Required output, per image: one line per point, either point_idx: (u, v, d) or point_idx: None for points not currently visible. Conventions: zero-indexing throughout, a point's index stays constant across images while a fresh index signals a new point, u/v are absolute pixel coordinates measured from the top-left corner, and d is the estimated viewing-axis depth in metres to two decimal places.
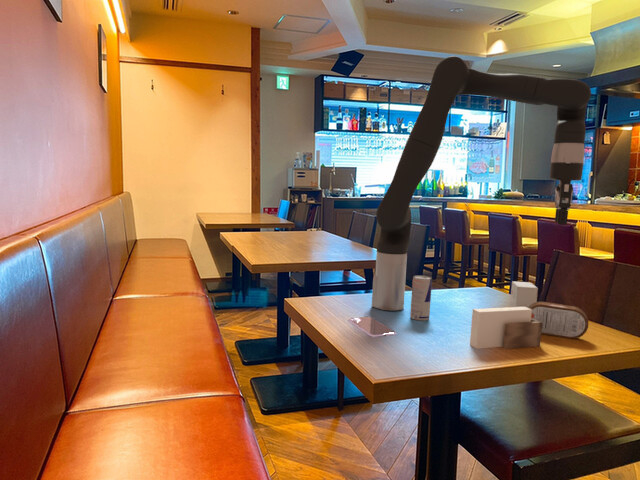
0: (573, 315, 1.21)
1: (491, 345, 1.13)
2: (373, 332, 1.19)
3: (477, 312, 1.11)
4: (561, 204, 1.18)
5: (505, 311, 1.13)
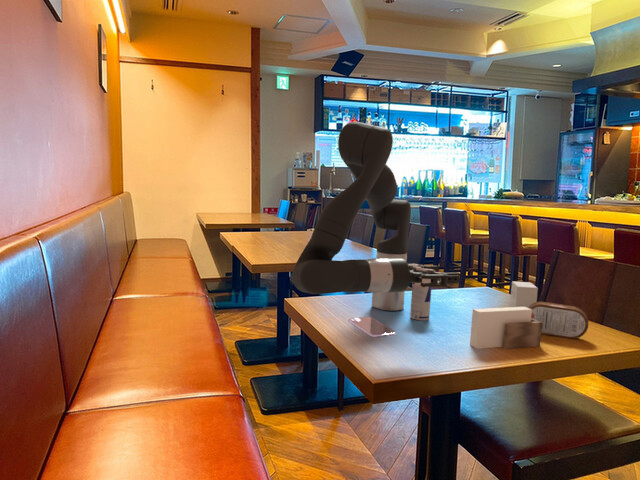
0: (573, 315, 1.21)
1: (491, 345, 1.13)
2: (373, 332, 1.19)
3: (477, 312, 1.11)
4: None
5: (505, 311, 1.13)
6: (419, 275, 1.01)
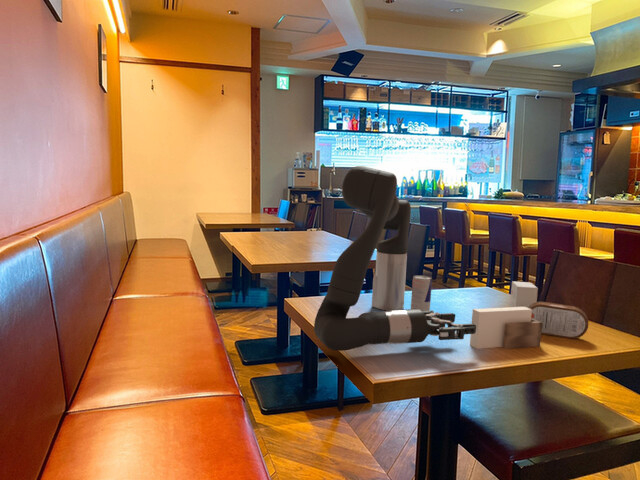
0: (573, 315, 1.21)
1: (491, 345, 1.13)
2: None
3: (477, 312, 1.11)
4: None
5: (505, 311, 1.13)
6: (437, 327, 1.04)
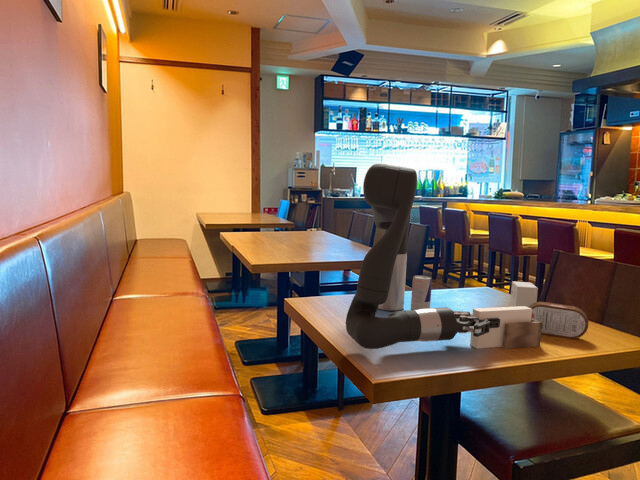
0: (573, 315, 1.21)
1: (491, 345, 1.13)
2: None
3: (477, 312, 1.11)
4: None
5: (505, 310, 1.13)
6: (468, 325, 1.07)
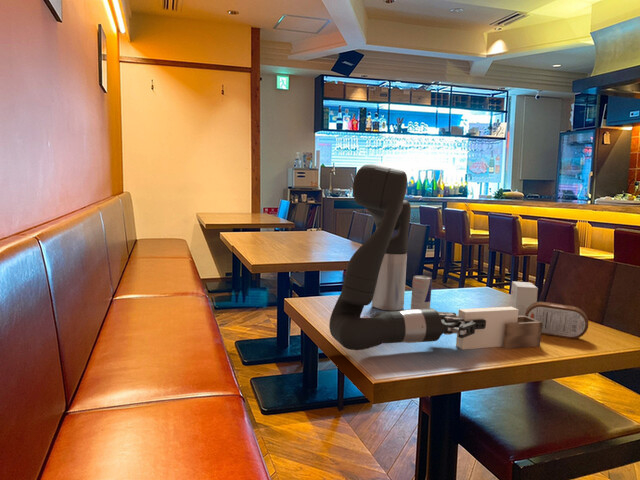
0: (573, 315, 1.21)
1: (477, 345, 1.12)
2: None
3: (463, 312, 1.10)
4: None
5: (491, 311, 1.12)
6: (453, 326, 1.05)
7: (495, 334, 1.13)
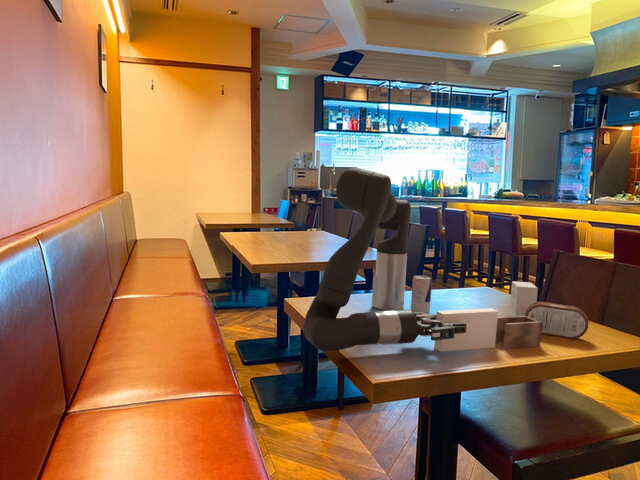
0: (573, 315, 1.21)
1: (455, 348, 1.10)
2: None
3: (441, 314, 1.08)
4: None
5: (470, 313, 1.10)
6: (427, 328, 1.03)
7: (474, 336, 1.11)
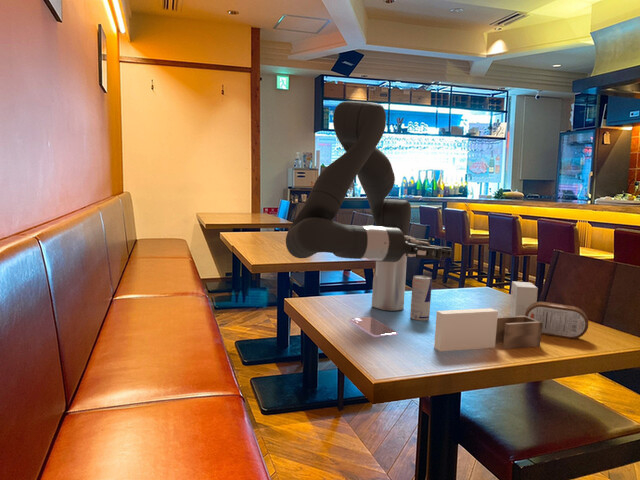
0: (573, 315, 1.21)
1: (455, 348, 1.10)
2: (375, 332, 1.19)
3: (441, 314, 1.08)
4: None
5: (470, 313, 1.10)
6: (414, 246, 0.99)
7: (474, 336, 1.11)
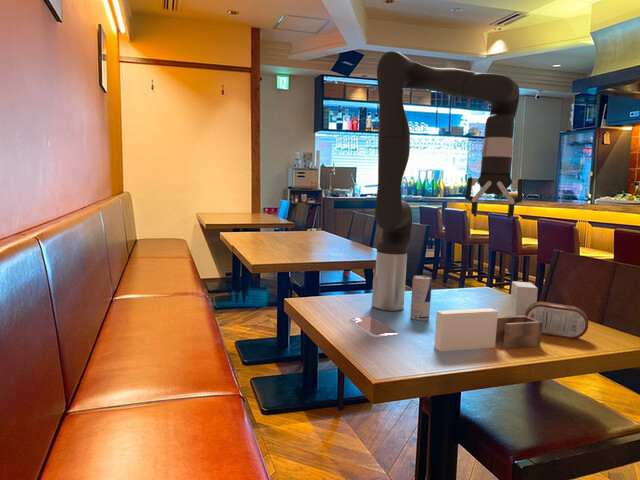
0: (573, 315, 1.21)
1: (455, 348, 1.10)
2: (375, 332, 1.19)
3: (441, 314, 1.08)
4: None
5: (470, 313, 1.10)
6: None
7: (474, 336, 1.11)
